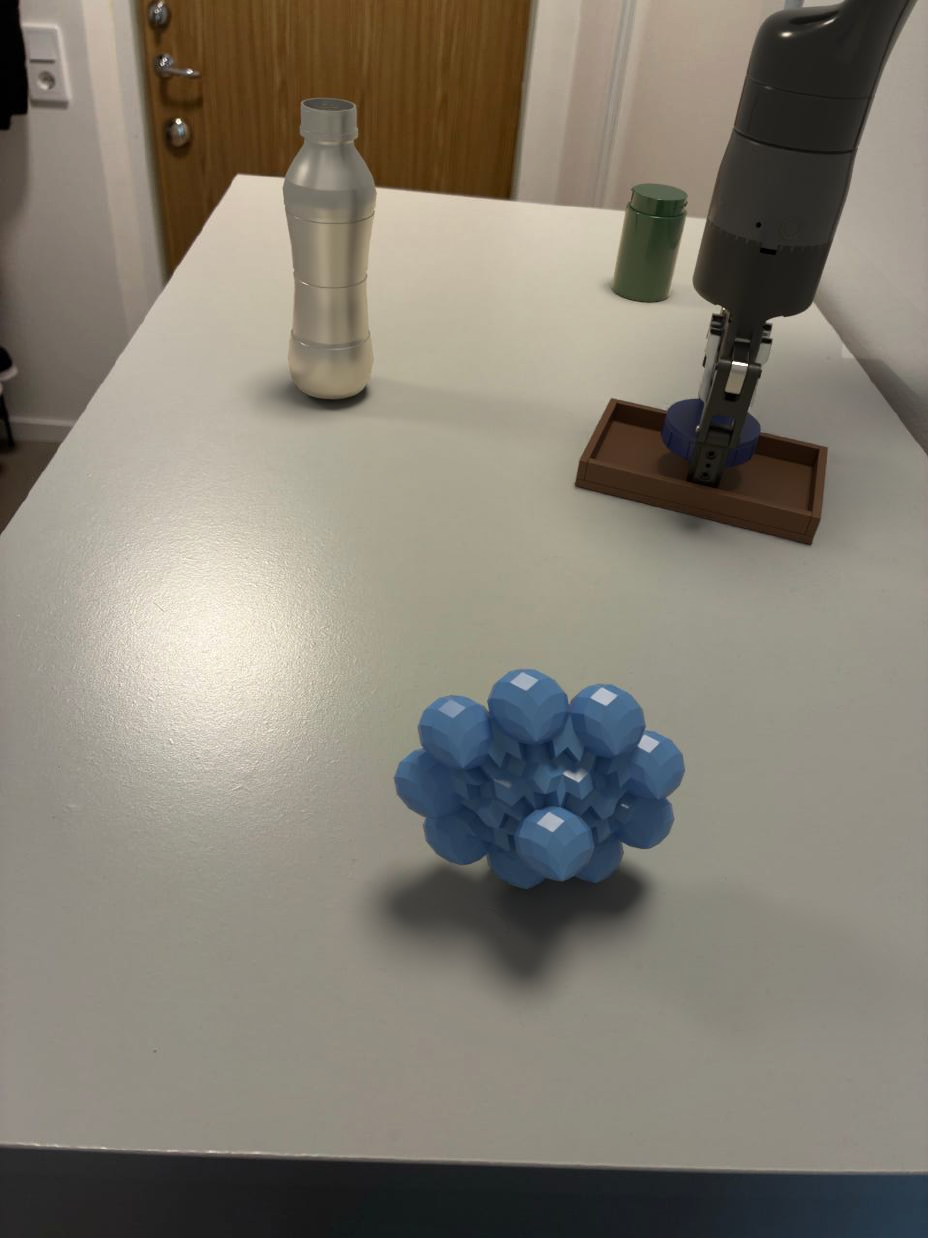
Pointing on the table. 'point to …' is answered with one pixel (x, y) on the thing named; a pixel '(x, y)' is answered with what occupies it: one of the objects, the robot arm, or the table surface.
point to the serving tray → (746, 497)
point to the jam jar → (650, 242)
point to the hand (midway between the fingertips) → (703, 461)
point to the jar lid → (683, 437)
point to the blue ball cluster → (540, 779)
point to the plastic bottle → (330, 252)
